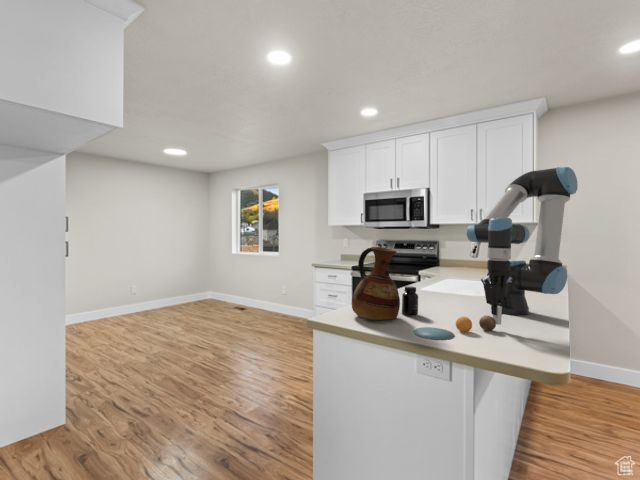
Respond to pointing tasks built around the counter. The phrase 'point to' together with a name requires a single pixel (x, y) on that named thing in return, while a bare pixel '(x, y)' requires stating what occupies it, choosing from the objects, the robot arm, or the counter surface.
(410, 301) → the supplement bottle
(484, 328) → the dark brown ball
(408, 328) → the counter surface
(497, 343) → the counter surface
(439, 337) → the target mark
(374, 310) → the ceramic pitcher
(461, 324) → the object ball
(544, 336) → the counter surface
